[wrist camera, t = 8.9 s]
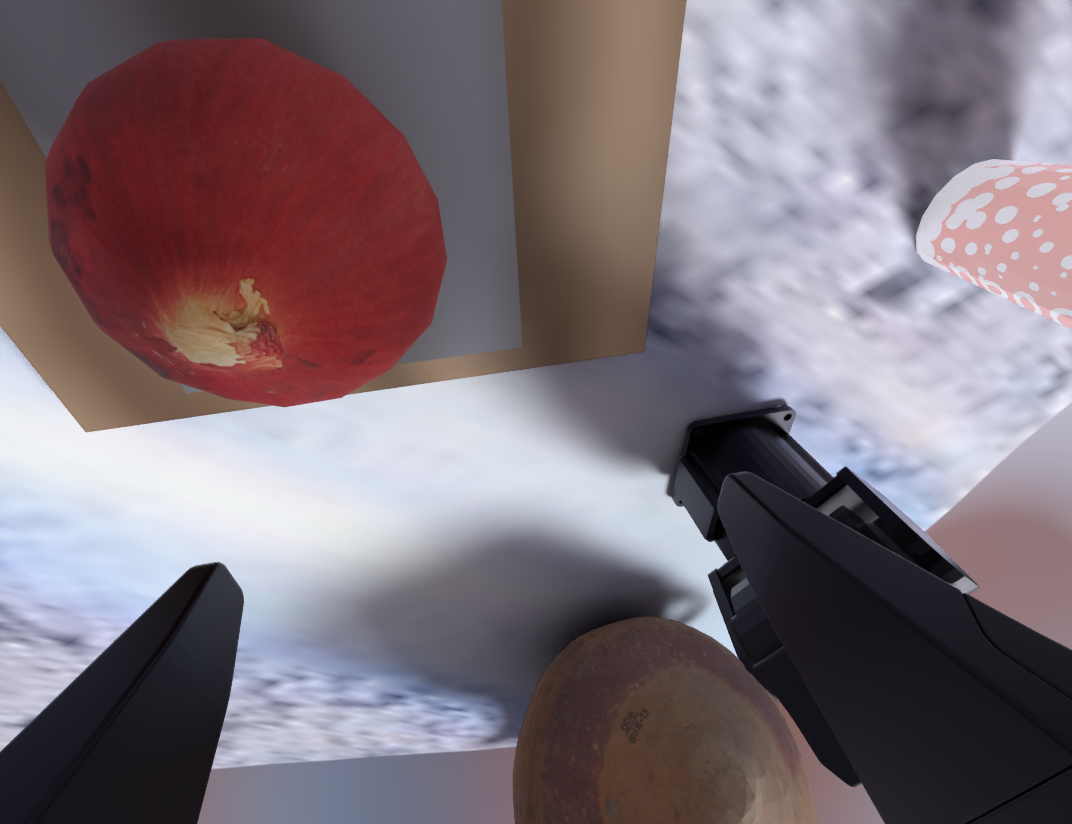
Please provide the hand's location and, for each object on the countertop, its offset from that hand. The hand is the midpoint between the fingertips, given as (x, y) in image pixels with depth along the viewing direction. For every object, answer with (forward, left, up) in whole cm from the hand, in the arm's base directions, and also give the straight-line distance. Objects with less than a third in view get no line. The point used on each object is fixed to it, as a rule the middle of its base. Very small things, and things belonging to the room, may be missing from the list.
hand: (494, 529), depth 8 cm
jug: (-7, +37, -13) cm, 40 cm away
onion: (+3, -4, -8) cm, 9 cm away
